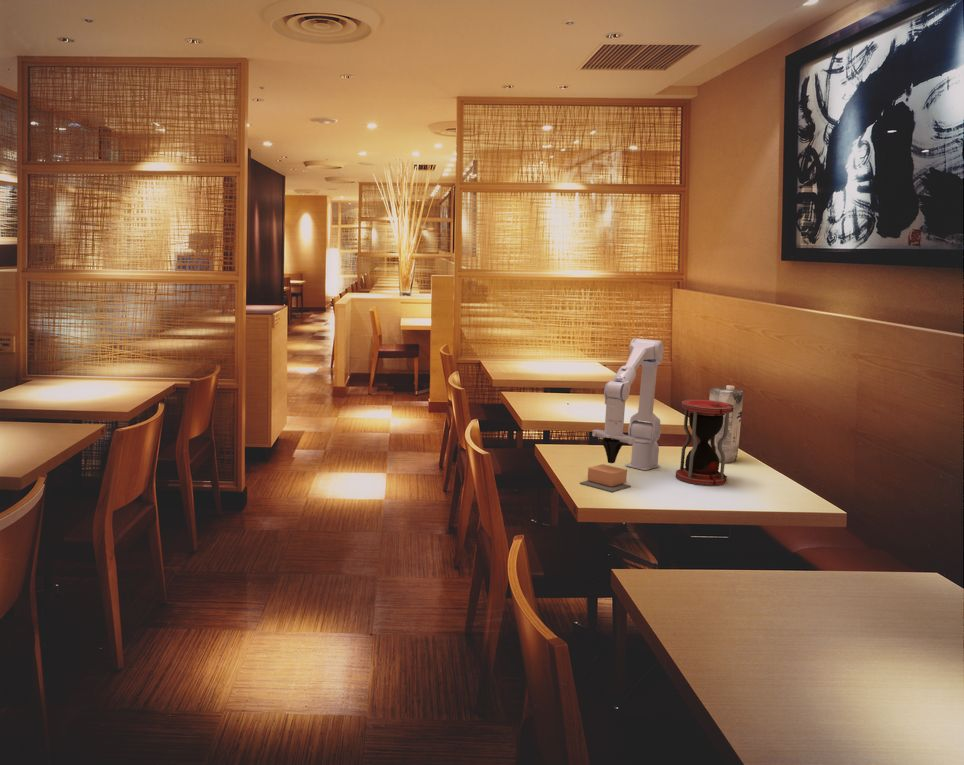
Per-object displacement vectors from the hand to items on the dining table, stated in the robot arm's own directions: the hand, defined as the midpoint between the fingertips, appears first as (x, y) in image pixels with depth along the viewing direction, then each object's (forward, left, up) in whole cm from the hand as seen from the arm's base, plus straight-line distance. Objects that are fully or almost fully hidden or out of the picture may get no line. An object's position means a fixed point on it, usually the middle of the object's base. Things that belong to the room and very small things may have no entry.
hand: (611, 462), depth 263 cm
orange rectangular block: (-2, 0, -4) cm, 4 cm away
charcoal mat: (+4, +1, -6) cm, 8 cm away
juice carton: (-59, +7, -7) cm, 60 cm away
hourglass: (-28, +16, -7) cm, 33 cm away
